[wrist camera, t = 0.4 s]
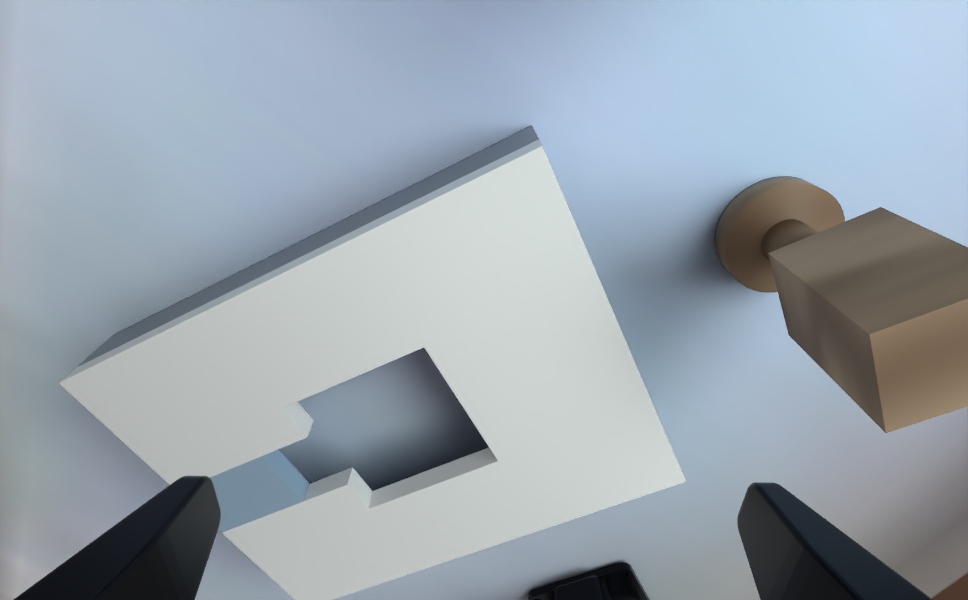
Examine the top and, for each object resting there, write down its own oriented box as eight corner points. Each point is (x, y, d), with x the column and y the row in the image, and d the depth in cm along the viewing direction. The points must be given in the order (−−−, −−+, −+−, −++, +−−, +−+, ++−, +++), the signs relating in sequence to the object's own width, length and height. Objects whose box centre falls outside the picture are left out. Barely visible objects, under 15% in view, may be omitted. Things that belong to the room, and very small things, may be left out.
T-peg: (834, 253, 22) (1047, 392, 14) (728, 295, 23) (870, 449, 14) (816, 156, 20) (1051, 252, 12) (701, 206, 21) (847, 327, 13)
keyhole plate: (661, 426, 26) (686, 481, 23) (322, 548, 30) (304, 608, 27) (531, 125, 19) (542, 145, 16) (114, 334, 23) (58, 382, 20)
